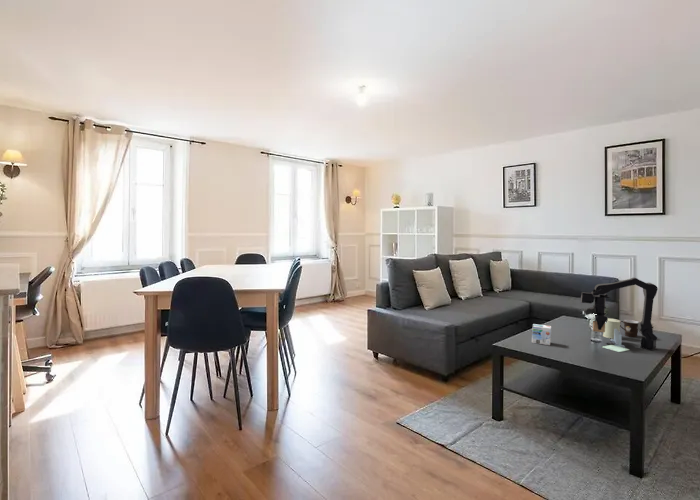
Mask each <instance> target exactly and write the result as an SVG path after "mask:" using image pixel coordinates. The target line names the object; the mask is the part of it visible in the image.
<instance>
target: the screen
mask: <svg viewBox="0 0 700 500" xmlns="http://www.w3.org/2000/svg"><path fill="white" fill-rule="evenodd" d="M622 336H623V335H622V333H621V331H620V332H619V331H618V330H617V329H615V330H614V339H610V342H612V343H614V344H613V345H615V346H619V347H623V348H626V346H625V345H624V344H622V339H623V337H622Z"/></svg>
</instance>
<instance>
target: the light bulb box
mask: <svg viewBox="0 0 700 500" xmlns="http://www.w3.org/2000/svg"><path fill="white" fill-rule="evenodd" d="M531 332H532V333H531V343H533V344H539V345H546V346H550V345H551V341H552V326H551V325H544V324H536V323H533V324H532V329H531Z"/></svg>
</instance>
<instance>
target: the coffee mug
mask: <svg viewBox="0 0 700 500" xmlns="http://www.w3.org/2000/svg"><path fill="white" fill-rule="evenodd" d="M638 322H639V320H632V319H624V320H623V321H622V320H620V323H623V325H624V327H623V326H622V325H621V324H620V329H622V330H623V331H624V336H625V337H628V338H635V339H636V338H637V337H638V333H639V330H638V329H637V327H638Z"/></svg>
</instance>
